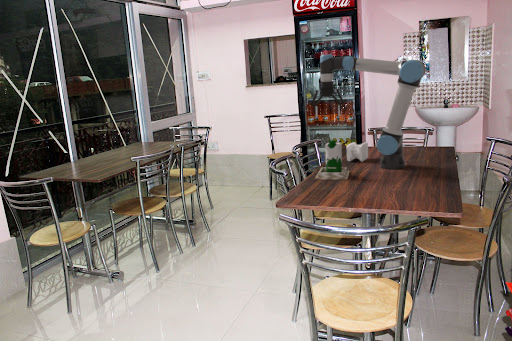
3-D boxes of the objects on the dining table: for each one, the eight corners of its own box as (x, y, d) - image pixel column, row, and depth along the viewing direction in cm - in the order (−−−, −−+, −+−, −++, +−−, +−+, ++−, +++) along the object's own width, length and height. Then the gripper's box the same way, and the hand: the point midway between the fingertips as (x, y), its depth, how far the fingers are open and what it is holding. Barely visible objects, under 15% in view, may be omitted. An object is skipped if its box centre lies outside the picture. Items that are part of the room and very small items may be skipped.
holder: (349, 172, 258) (349, 166, 257) (347, 179, 241) (347, 173, 240) (319, 172, 263) (319, 166, 262) (315, 179, 246) (314, 173, 245)
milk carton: (324, 175, 250) (323, 141, 246) (328, 171, 258) (328, 138, 254) (339, 175, 247) (338, 141, 242) (343, 172, 255) (342, 138, 250)
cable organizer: (361, 163, 282) (361, 145, 279) (346, 162, 287) (345, 145, 285) (368, 158, 294) (368, 141, 292) (353, 157, 300) (353, 141, 297)
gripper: (348, 79, 259) (349, 115, 264) (307, 82, 266) (308, 116, 271) (347, 80, 252) (348, 116, 257) (305, 82, 259) (306, 117, 264)
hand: (327, 116), depth 264 cm, fingers open, 13 cm apart
